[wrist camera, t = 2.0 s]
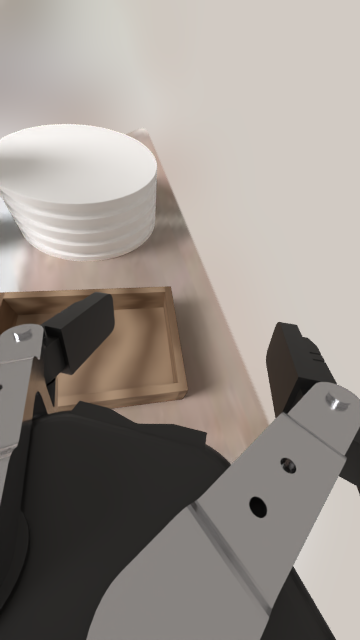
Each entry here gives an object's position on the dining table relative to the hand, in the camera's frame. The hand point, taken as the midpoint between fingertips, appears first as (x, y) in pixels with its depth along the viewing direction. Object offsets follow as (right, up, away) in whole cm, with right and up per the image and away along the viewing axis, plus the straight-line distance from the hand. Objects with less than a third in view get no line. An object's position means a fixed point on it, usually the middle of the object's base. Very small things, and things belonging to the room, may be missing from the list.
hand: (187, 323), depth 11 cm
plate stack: (-20, +23, +38) cm, 49 cm away
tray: (-13, -5, +22) cm, 26 cm away
